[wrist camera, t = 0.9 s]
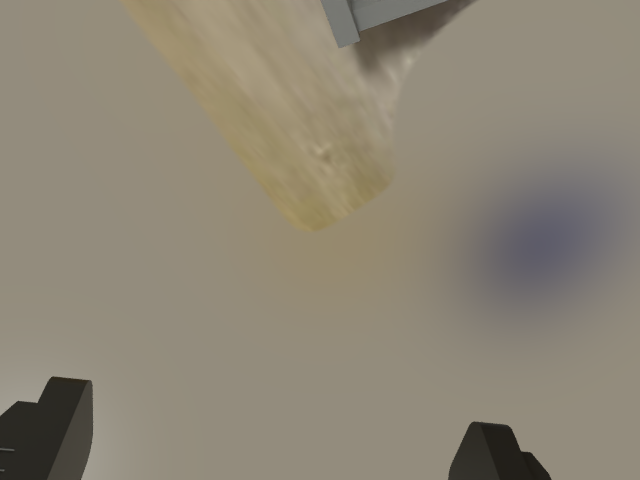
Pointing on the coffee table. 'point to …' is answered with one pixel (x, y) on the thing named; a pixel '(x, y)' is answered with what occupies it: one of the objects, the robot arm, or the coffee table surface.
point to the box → (366, 15)
